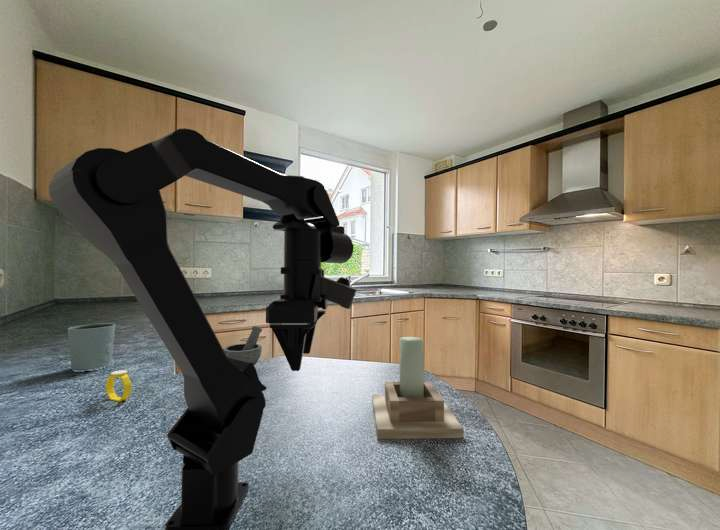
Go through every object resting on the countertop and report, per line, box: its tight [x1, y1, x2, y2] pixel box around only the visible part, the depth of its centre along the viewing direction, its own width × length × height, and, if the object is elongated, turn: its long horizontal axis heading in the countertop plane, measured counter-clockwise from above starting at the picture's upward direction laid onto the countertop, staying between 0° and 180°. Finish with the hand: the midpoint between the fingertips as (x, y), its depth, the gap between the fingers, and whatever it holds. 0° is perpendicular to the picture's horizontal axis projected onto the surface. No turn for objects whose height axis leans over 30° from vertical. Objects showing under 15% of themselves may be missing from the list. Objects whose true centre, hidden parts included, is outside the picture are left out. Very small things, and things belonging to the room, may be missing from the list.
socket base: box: [371, 381, 464, 440], centre depth 55 cm, size 14×14×5 cm
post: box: [399, 336, 425, 397], centre depth 55 cm, size 4×4×13 cm
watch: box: [105, 369, 132, 403], centre depth 63 cm, size 6×3×6 cm, turn 71°
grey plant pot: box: [67, 322, 116, 370], centre depth 85 cm, size 10×10×12 cm
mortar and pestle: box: [223, 325, 263, 366], centre depth 81 cm, size 11×9×12 cm
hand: (301, 361), depth 46 cm, fingers open, 9 cm apart
